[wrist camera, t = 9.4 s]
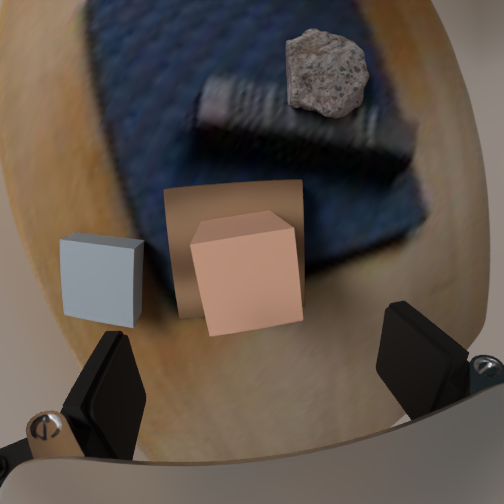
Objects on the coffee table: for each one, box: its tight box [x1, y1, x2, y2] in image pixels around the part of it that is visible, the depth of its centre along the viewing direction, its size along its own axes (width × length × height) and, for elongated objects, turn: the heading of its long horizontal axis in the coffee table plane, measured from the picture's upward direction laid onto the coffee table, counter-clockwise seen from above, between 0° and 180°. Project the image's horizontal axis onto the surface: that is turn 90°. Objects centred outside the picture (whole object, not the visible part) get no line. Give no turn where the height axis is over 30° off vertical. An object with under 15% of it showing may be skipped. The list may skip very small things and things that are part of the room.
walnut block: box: [164, 180, 305, 318], centre depth 28 cm, size 12×12×4 cm
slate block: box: [60, 232, 144, 328], centre depth 28 cm, size 8×8×4 cm
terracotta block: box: [190, 211, 303, 336], centre depth 22 cm, size 6×6×9 cm
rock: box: [286, 29, 370, 118], centre depth 25 cm, size 9×11×4 cm
